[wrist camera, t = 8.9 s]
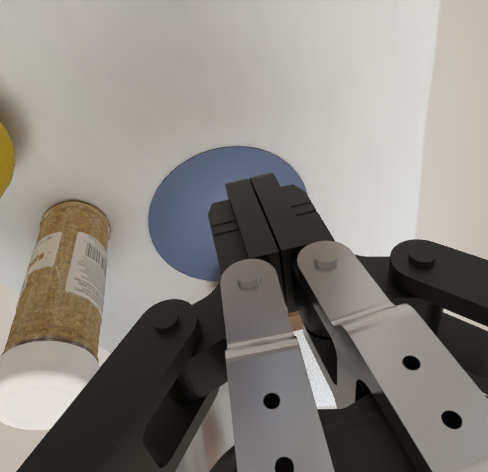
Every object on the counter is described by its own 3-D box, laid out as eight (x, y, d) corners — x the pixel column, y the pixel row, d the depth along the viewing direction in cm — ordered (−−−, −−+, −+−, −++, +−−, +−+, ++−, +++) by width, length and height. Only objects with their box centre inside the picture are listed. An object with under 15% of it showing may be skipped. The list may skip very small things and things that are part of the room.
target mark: (274, 286, 36) (274, 287, 36) (134, 270, 32) (134, 272, 31) (334, 166, 29) (335, 168, 29) (169, 127, 25) (169, 128, 25)
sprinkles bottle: (32, 201, 26) (-37, 386, 16) (106, 196, 27) (85, 368, 17) (50, 255, 29) (2, 442, 19) (116, 249, 30) (105, 424, 20)
